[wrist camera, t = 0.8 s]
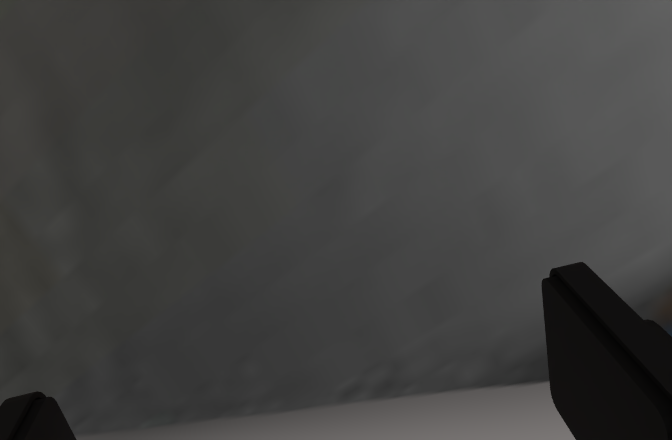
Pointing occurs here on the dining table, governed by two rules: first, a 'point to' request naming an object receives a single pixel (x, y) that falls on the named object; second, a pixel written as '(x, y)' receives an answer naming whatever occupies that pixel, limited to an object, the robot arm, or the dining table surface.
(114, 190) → the dining table surface
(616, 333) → the robot arm
